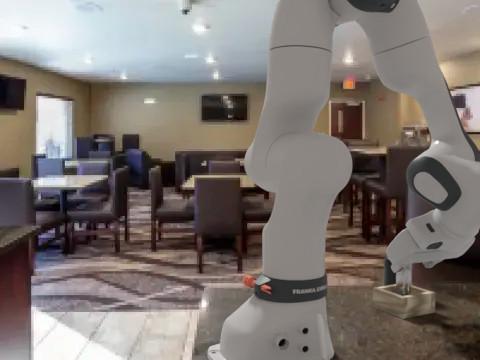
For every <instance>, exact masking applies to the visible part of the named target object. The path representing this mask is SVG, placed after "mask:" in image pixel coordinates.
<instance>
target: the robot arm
mask: <svg viewBox="0 0 480 360" xmlns="http://www.w3.org/2000/svg"><path fill="white" fill-rule="evenodd" d="M271 22H272V23H271V29H270V35H269V42H268V43H269V44H268V57H267V74H266V84H265V85H266V86H265V87H266V89H265V94H264V101H263V107H262V110H261V113H260V117H259V121H258V124H257V129H256V132H255V134H254V137H253V141H252V142H251V144H250V145H249V147H248V148H247V150H246V153H245V156H244V161H243V162H244V163H243V165H244V171H245V173H246V176H247V177H248V179H249V180H250V181H251V182H252V183H253V184H254V185H256V186H258V187H259V188H261V189H263V190H264V191H266V192H270V193H275V198H274V203H273V207H272V211H271V215H270V217H269V219H268V221H267V223H266V224H265V225H264V226H263V229H262V231H261V232H262V235H261V236H262V237H261V238H262V241H261V242H262V245H261V246H262V253H261V254H262V258H261V261H262V271H261V272H260V274H259V276H258V277H257V278H256V277H254V276H252V275H249V274H247V275H244V277H243V278H242V284H243V285H244V286H245V287H247V288H249V289H253V294H252V295H251V296H250V297H248V299H247V300H246V301H245V302H244V303H242V305H240V306H239V307H238V308H237V309H236V310H235V311H234V312H232V313H231V314H230V315H229V316H228V317H226V319H225V320H224V321H223V324H222V329H221V331H220V332H221V333H220V340H219V343H216V344H213V345H210V346H209V347H208V349H207V359H208V360H331V359H333V357H334V355H335V350H334V347H333V344H332V343H333V342H332V340H331V335H330V329H329V324H328V317H327V316H328V314H327V304H326V303H327V302H326V301H327V298H328V297H327V296H328V291H329V290H328V273H326V239H327V236H326V235H327V228H328V222H329V218H330V215H331V211H332V207H333V206H334V203H335V200H336V199H337V196H338V195H339V194H340V192H341V191H343V189H344V188H345V187H346V186H347V184H348V183H349V181H350V179H351V176H352V173H353V172H352V171H353V158H352V154H351V152H350V149H349V148H348V145H346V144H345V143H344V142H343V141H342V140H341V139H339V138H338V137H335V136H333V135H329V134H326V133H324V132H318V131H314V128H315V125H316V123H317V121H318V120H317V119H318V118H319V116H320V113H321V111H322V110H323V108H324V107H325V106H326V105H327V103H328V101H329V99H330V96H331V95H330V93H331V80H332V79H331V78H332V65H333V64H332V63H333V61H332V60H333V43H334V41H333V40H334V39H333V36H334V35H333V34H334V31H335V28H336V27H338V26H340V25H344V24H347V23H350V22H352V23H353V22H356V23H357V24H358V25H359V26H360V27H361V29H363V32H364V34H365V35H366V40H367V45H368V49H369V52H370V57H371V60H372V65H373V66H374V70H375V72H376V74H377V76H378V78H379V80H380V82H381V83H382V85H383V86H384V87H386V88H387V89H389V90H391V91H392V92H396V93H398V94H402V95H403V94H404V95H407V96H409V97H411V98H413V99H414V100H415V101H416V102H417V103H418V106H420V109H421V112H422V114H423V118H424V119H425V123H426V125H427V128H428V131H429V134H430V136H431V143H430V146H429V148H428V149H426V150H424V151H423V152H422V153H420V154H419V155H418V156H417V157H415V158H414V159H412V161H410V163H409V164H408V166H407V168H406V172H405V175H406V182H407V185H408V187H409V189H410V191H411V192H412V193H413V194H414V195H415V196H416V197H418V198H420V199H421V200H422V201H423V202H425V203H426V204H428V205H429V206H431V207H433V208H435V209H432V210H430V211H428V212H427V213H425V214H422V215H419V216H415V217H412V218H410V219H408V221H407V222H406V223H405V226H406V228H404V229H402V230H401V231H400V232H399V233H398V234H397V235H396V236H395V237H394V239H393V240H391V242H390V243H389V245H388V246H387V247H386V250H385V254H386V257H387V256H388V258H389V260H390V261H391V263H392V265H391V269H392V271H393V272H394V273H396V272H400V271H401V270H402V269H403V266H402V265H405V264H412V265H413V264H418V263H422V265H423V266H424V267H425V269H431V268H433V267H434V266H435V265H437V264H438V263H441V262H443V261H444V260H448V259H450V260H451V259H457V258H459V257H461V256H463V255H464V254H465V253H466V252H467V251H468V250H469V249H470V247H472V245H473V244H474V242H475V240H476V237H475V236H476V235H477V234H479V231H480V151H479V148H478V147H477V145H476V143H475V141H473V139H472V138H471V137H470V135H469V134H468V133H467V131H466V130H465V128H464V125H463V123H462V121H461V117H460V114H459V112H458V110H457V107H456V103H455V101H454V99H453V95H452V92H451V90H450V86H449V85H448V82H447V80H446V77H445V75H444V73H443V70H442V69H441V67H440V64H439V62H438V59H437V55H436V52H435V49H434V45H433V42H432V37H431V35H430V31H429V27H428V23H427V21H426V18H425V15H424V13H423V11H422V8H421V6H420V3H419V2H418V0H277V2H276V5H275V9H274V13H273V17H272V21H271Z"/></svg>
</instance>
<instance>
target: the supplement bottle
mask: <svg viewBox="0 0 480 360" xmlns="http://www.w3.org/2000/svg"><path fill="white" fill-rule="evenodd" d="M391 265H392V263H391V261H390V260H389V258H388V256H387V255H386V256H385V258H384V260H383V285H382V286H387V285H394V284H396V273H394V272H393V271H392V269H391ZM411 285H413V263H412V264H411Z"/></svg>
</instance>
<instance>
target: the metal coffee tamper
mask: <svg viewBox="0 0 480 360" xmlns="http://www.w3.org/2000/svg"><path fill="white" fill-rule="evenodd" d="M402 266H403V269H402V270H401V271H400V272H396V294H399V295H402V296H406V295H411V264H405V265H402Z"/></svg>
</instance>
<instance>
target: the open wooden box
mask: <svg viewBox="0 0 480 360" xmlns="http://www.w3.org/2000/svg"><path fill="white" fill-rule="evenodd" d="M372 308H374V309H376V310H379V311H381V312H384V313H387V314H389V315H392V316H395V317H398V318H400V319H402V320H404V319H409V318H414V317H415V318H416V317H420V316H424V315H430V314H434V313H435V312H436V292H435V291H432V290H428V289H425V288H422V287H420V286H419V287H418V286H415V285H413V284H412V285H411V295H406V296H402V295H399V294H396V284H394V285H387V286H383V285H382V286H376V287H372Z"/></svg>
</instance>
